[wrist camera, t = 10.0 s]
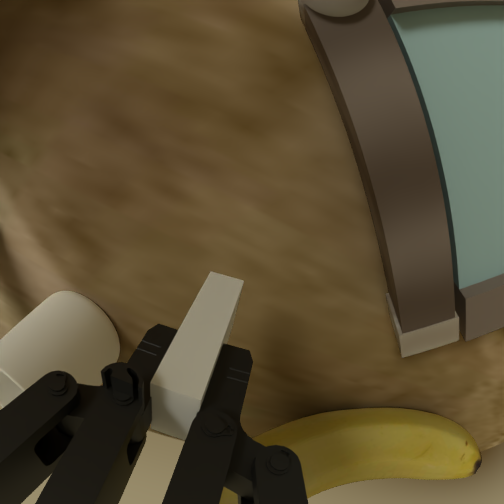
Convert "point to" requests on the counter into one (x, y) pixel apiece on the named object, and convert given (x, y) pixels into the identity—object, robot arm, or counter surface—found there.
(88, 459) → the robot arm
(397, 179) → the folding leg
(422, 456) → the banana
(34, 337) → the cup
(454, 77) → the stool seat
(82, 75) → the counter surface
